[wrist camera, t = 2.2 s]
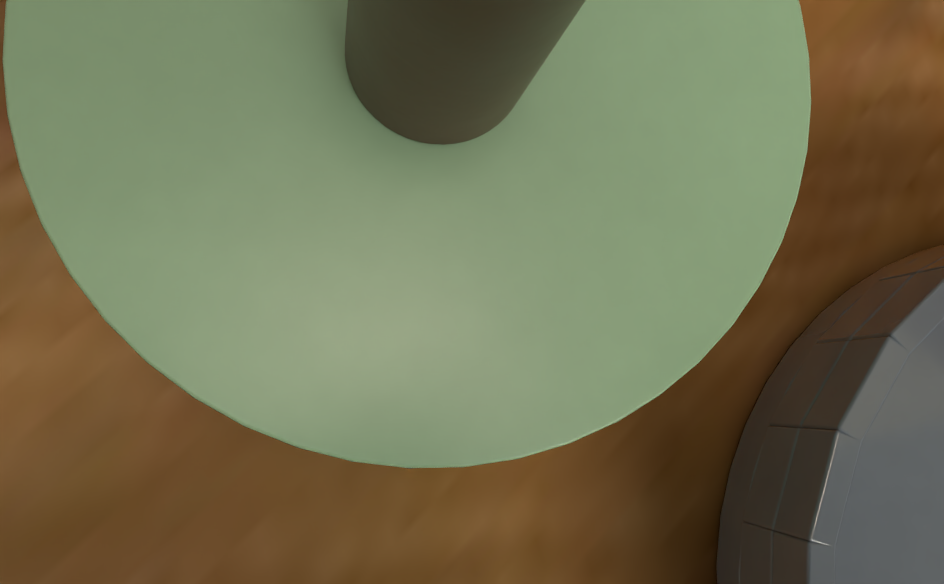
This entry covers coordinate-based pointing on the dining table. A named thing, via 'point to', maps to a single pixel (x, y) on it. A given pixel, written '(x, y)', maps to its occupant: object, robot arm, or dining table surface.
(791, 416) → the pan
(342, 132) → the lid
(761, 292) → the dining table surface
